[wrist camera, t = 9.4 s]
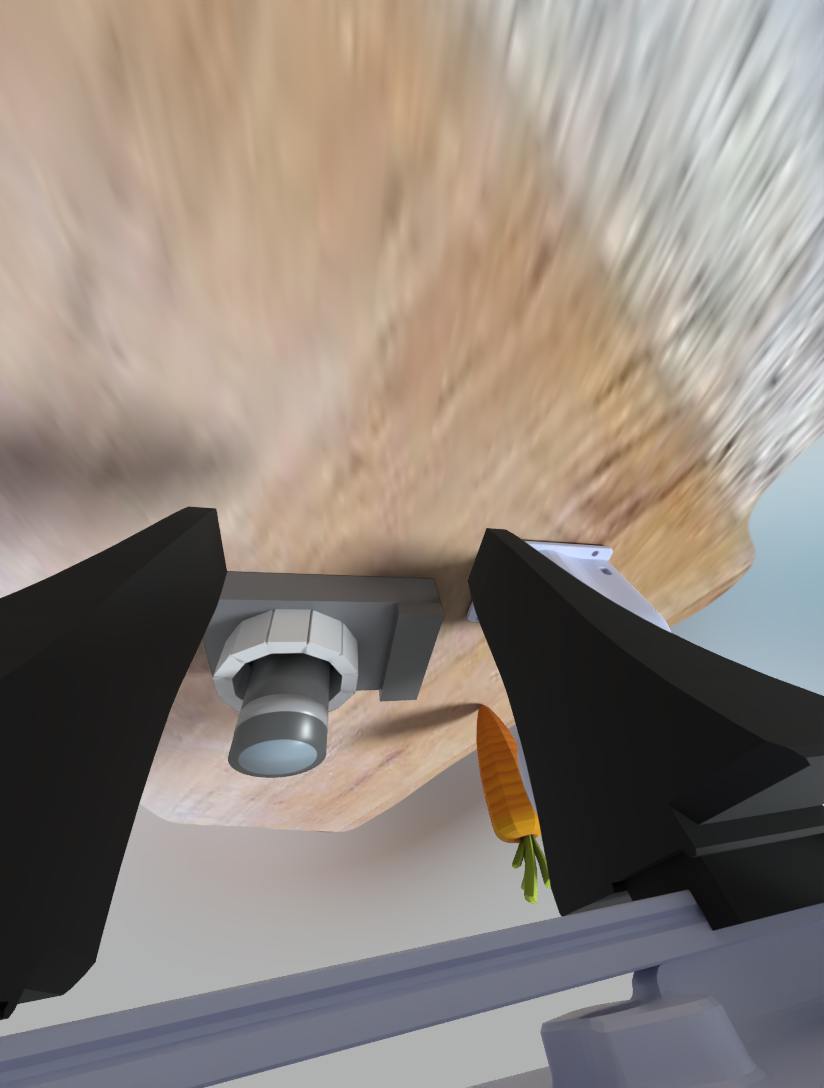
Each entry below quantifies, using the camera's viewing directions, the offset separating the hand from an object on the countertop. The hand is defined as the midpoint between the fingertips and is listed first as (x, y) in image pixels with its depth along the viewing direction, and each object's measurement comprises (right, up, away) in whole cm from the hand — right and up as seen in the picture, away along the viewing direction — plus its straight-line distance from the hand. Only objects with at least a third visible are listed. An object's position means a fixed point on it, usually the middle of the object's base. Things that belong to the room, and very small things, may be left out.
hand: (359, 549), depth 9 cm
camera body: (-5, -6, +17) cm, 18 cm away
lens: (-7, -8, +14) cm, 17 cm away
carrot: (+9, -17, +28) cm, 34 cm away
